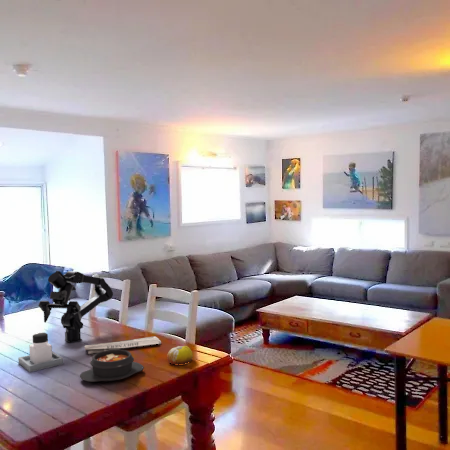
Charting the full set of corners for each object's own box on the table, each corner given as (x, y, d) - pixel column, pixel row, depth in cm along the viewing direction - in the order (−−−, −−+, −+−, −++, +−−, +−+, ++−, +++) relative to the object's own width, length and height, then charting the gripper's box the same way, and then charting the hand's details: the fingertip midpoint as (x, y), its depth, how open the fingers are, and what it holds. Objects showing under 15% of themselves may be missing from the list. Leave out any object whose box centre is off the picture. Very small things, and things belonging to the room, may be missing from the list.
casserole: (88, 391, 172) (87, 369, 172) (74, 375, 188) (73, 355, 187) (151, 376, 186) (150, 355, 185) (133, 362, 201) (132, 343, 201)
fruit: (180, 354, 210) (184, 338, 208) (195, 366, 203) (199, 350, 201) (160, 360, 202) (163, 343, 200) (175, 373, 195) (178, 356, 193)
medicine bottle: (52, 361, 202) (51, 333, 201) (35, 365, 197) (34, 337, 196) (46, 357, 207) (45, 330, 206) (29, 361, 202) (28, 333, 202)
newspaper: (155, 339, 235) (155, 332, 235) (162, 346, 224) (162, 339, 224) (82, 349, 221) (82, 342, 221) (86, 358, 210) (85, 350, 209)
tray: (50, 355, 212) (50, 350, 212) (63, 363, 201) (63, 358, 201) (18, 363, 203) (18, 357, 202) (29, 372, 192) (29, 366, 192)
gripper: (39, 284, 223) (28, 312, 212) (77, 284, 220) (67, 313, 210) (48, 297, 231) (37, 325, 221) (84, 297, 229) (75, 326, 218)
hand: (54, 322), depth 217 cm, fingers open, 9 cm apart
